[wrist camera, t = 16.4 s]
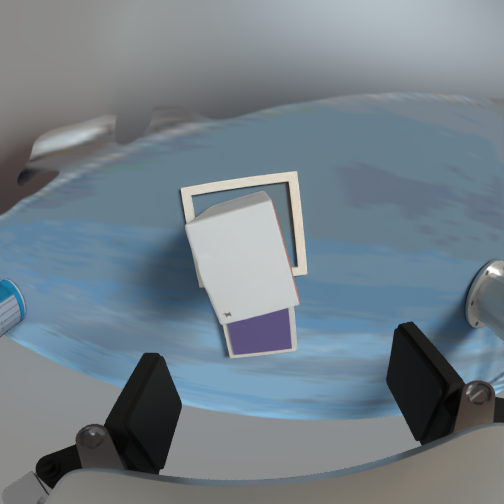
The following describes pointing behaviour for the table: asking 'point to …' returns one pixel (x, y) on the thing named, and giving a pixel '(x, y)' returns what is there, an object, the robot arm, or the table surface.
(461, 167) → the table surface
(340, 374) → the table surface
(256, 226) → the small box
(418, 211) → the table surface
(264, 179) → the outlined square
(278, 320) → the ink pad
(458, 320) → the table surface
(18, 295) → the beverage bottle
